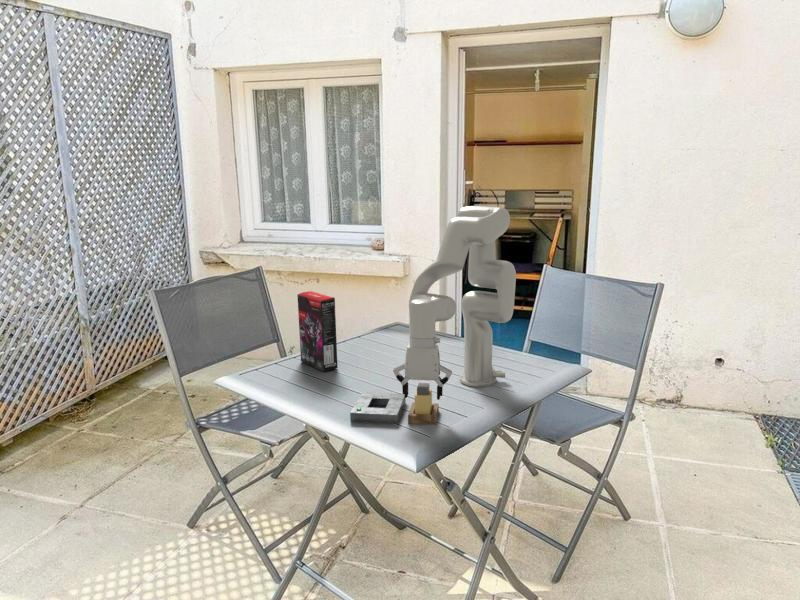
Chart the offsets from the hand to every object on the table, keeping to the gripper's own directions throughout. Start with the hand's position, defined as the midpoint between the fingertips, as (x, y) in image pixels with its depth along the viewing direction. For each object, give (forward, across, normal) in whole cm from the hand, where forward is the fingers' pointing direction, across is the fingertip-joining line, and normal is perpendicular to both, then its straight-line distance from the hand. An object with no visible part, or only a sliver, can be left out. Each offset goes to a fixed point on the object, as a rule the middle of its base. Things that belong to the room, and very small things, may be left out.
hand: (422, 397), depth 177 cm
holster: (+6, 0, -1) cm, 7 cm away
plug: (+7, 0, -1) cm, 7 cm away
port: (+7, +14, -3) cm, 15 cm away
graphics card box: (+6, +45, -43) cm, 62 cm away
